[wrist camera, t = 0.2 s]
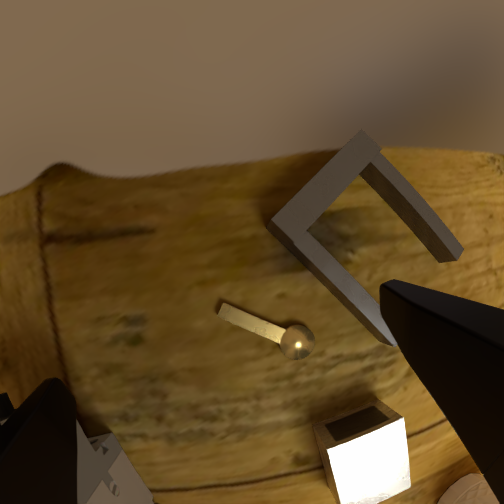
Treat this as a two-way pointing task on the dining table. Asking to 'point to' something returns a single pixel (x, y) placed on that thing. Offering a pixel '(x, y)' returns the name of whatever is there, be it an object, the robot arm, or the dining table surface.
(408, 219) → the frame
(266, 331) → the brass key
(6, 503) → the robot arm
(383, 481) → the block
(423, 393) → the dining table surface
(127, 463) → the circuit breaker
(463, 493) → the white cup
